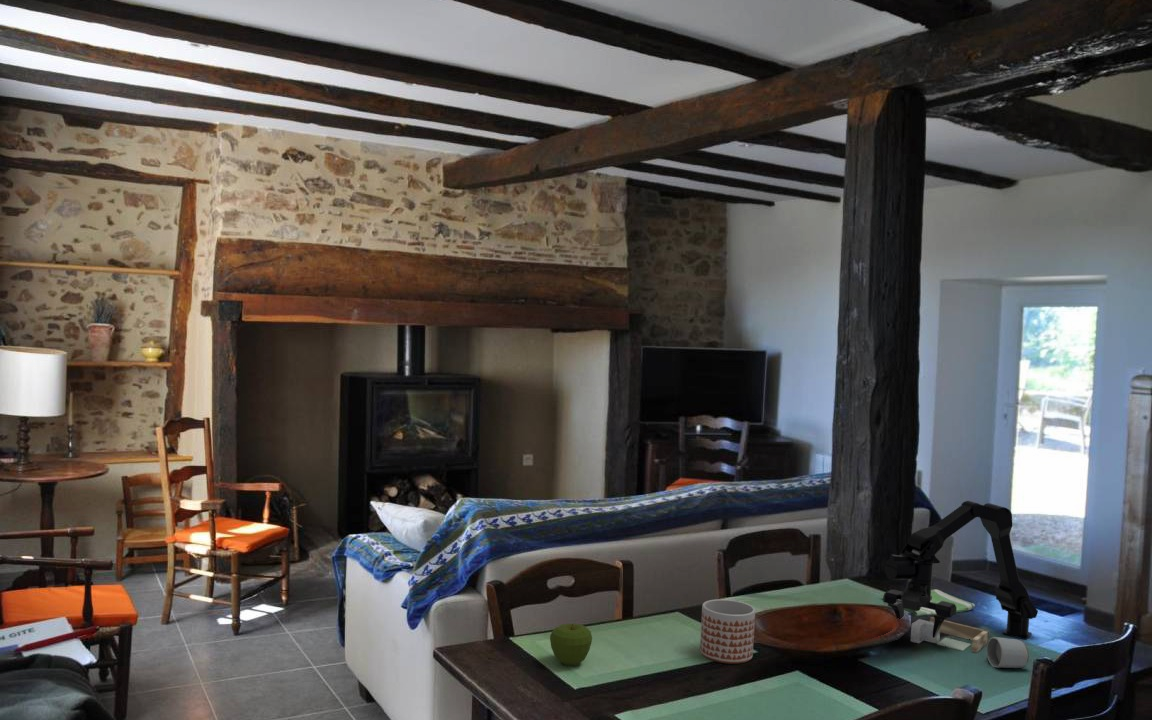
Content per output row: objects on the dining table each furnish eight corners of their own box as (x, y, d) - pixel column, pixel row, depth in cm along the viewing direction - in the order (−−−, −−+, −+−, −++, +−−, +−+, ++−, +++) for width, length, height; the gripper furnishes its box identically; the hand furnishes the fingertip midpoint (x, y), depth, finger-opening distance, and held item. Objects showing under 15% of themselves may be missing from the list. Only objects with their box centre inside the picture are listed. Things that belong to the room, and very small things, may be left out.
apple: (570, 652, 235) (572, 614, 234) (600, 664, 227) (602, 625, 227) (539, 661, 227) (541, 622, 227) (569, 674, 220) (571, 634, 219)
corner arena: (930, 628, 268) (931, 616, 268) (988, 643, 258) (989, 630, 258) (916, 637, 259) (917, 625, 259) (975, 653, 249) (976, 640, 249)
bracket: (918, 636, 261) (919, 619, 261) (939, 641, 257) (940, 624, 257) (910, 641, 256) (911, 623, 256) (932, 646, 252) (933, 629, 252)
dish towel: (879, 600, 296) (879, 591, 296) (937, 596, 304) (937, 587, 304) (917, 618, 280) (917, 609, 279) (977, 613, 288) (977, 604, 288)
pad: (945, 638, 260) (945, 637, 260) (971, 645, 255) (971, 644, 255) (937, 644, 255) (937, 643, 254) (963, 651, 250) (963, 650, 250)
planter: (762, 655, 239) (765, 608, 239) (733, 668, 229) (736, 618, 229) (719, 641, 248) (721, 595, 248) (689, 653, 238) (692, 605, 238)
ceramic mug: (1030, 672, 237) (1032, 643, 236) (1000, 672, 236) (1002, 642, 236) (1007, 657, 247) (1008, 629, 247) (978, 657, 246) (980, 629, 246)
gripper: (877, 576, 256) (873, 631, 256) (945, 591, 244) (941, 649, 244) (892, 569, 264) (888, 622, 265) (958, 583, 252) (955, 639, 253)
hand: (917, 633), depth 256 cm, fingers open, 9 cm apart
